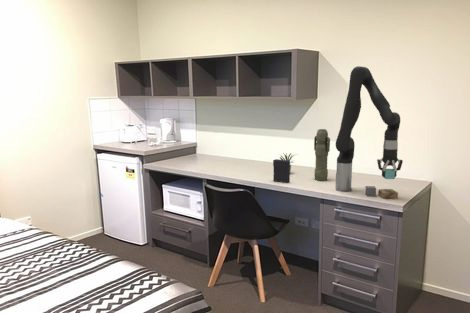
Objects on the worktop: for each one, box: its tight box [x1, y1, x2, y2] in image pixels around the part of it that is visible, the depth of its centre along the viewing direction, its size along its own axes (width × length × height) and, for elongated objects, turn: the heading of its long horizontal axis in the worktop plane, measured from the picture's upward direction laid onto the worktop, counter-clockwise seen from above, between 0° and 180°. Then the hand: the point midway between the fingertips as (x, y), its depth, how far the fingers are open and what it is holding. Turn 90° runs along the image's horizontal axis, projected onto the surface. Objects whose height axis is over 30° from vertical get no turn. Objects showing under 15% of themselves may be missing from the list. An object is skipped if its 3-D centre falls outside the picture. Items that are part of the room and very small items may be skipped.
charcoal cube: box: [364, 185, 377, 197], centre depth 227 cm, size 5×5×5 cm
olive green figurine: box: [313, 128, 331, 182], centre depth 265 cm, size 9×12×35 cm
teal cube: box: [384, 168, 396, 180], centre depth 220 cm, size 5×5×5 cm
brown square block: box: [377, 188, 399, 200], centre depth 222 cm, size 8×8×4 cm
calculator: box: [272, 158, 291, 184], centre depth 262 cm, size 11×4×15 cm, turn 56°
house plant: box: [278, 152, 299, 172], centre depth 289 cm, size 14×14×16 cm
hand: (389, 177), depth 221 cm, fingers closed on teal cube, 5 cm apart
